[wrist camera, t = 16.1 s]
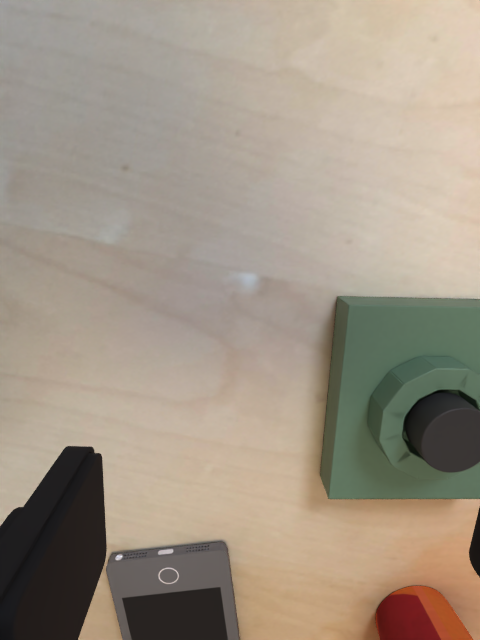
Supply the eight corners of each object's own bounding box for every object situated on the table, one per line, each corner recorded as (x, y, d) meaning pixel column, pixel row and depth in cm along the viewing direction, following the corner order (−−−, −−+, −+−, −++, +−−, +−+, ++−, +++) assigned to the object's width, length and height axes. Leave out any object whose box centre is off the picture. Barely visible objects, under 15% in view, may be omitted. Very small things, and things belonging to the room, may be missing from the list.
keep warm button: (410, 391, 20) (427, 407, 18) (478, 392, 20) (501, 408, 18) (400, 452, 21) (415, 473, 19) (465, 452, 21) (486, 473, 19)
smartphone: (248, 696, 30) (249, 707, 30) (143, 708, 30) (141, 719, 30) (228, 540, 26) (228, 549, 26) (107, 554, 26) (104, 563, 26)
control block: (337, 296, 22) (360, 313, 18) (505, 299, 23) (563, 317, 19) (319, 475, 25) (336, 522, 22) (468, 475, 26) (511, 521, 22)
